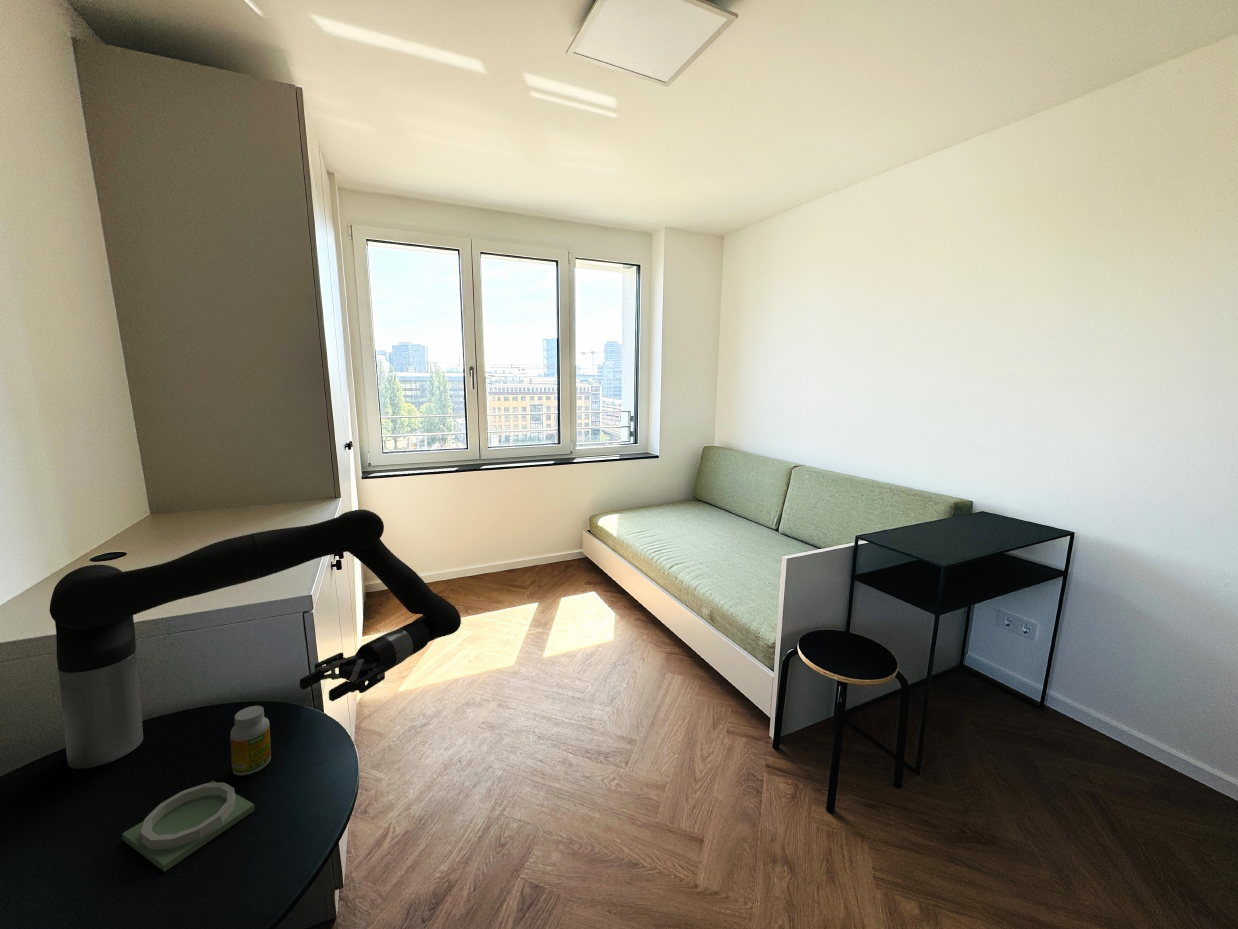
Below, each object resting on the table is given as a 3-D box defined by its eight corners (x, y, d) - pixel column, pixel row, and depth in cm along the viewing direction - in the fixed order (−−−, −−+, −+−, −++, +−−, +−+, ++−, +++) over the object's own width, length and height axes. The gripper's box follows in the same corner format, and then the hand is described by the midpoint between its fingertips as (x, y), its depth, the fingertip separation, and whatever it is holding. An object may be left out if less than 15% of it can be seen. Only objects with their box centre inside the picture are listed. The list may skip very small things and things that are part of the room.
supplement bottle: (250, 779, 80) (247, 725, 79) (223, 773, 81) (220, 719, 80) (279, 756, 85) (276, 705, 84) (253, 751, 86) (251, 701, 85)
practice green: (122, 840, 68) (121, 824, 68) (213, 786, 78) (212, 771, 78) (164, 872, 64) (163, 855, 64) (254, 810, 74) (253, 795, 74)
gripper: (362, 629, 110) (290, 663, 95) (409, 643, 104) (339, 681, 89) (364, 660, 111) (292, 699, 96) (409, 675, 105) (341, 719, 90)
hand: (315, 690), depth 93 cm, fingers open, 8 cm apart
